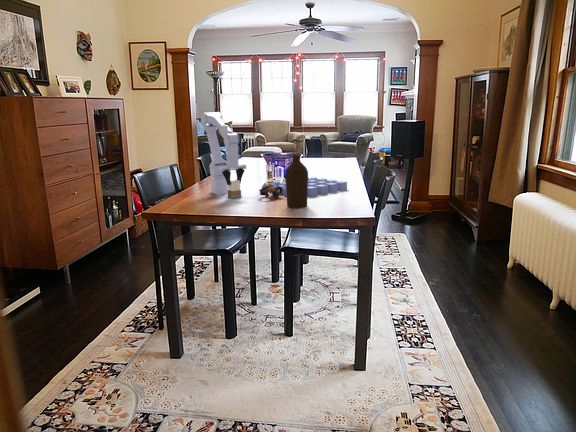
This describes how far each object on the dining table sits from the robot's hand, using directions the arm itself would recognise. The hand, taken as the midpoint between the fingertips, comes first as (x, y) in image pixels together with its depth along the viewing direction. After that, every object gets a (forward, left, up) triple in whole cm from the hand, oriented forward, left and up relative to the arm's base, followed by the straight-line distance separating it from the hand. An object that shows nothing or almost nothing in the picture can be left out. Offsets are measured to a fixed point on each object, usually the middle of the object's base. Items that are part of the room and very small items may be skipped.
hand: (233, 184), depth 229 cm
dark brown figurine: (+14, +14, -8) cm, 21 cm away
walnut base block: (0, 0, -7) cm, 7 cm away
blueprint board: (0, 0, -7) cm, 7 cm away
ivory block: (0, 0, -3) cm, 3 cm away
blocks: (+6, +40, -8) cm, 41 cm away
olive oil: (+36, +13, -8) cm, 39 cm away
